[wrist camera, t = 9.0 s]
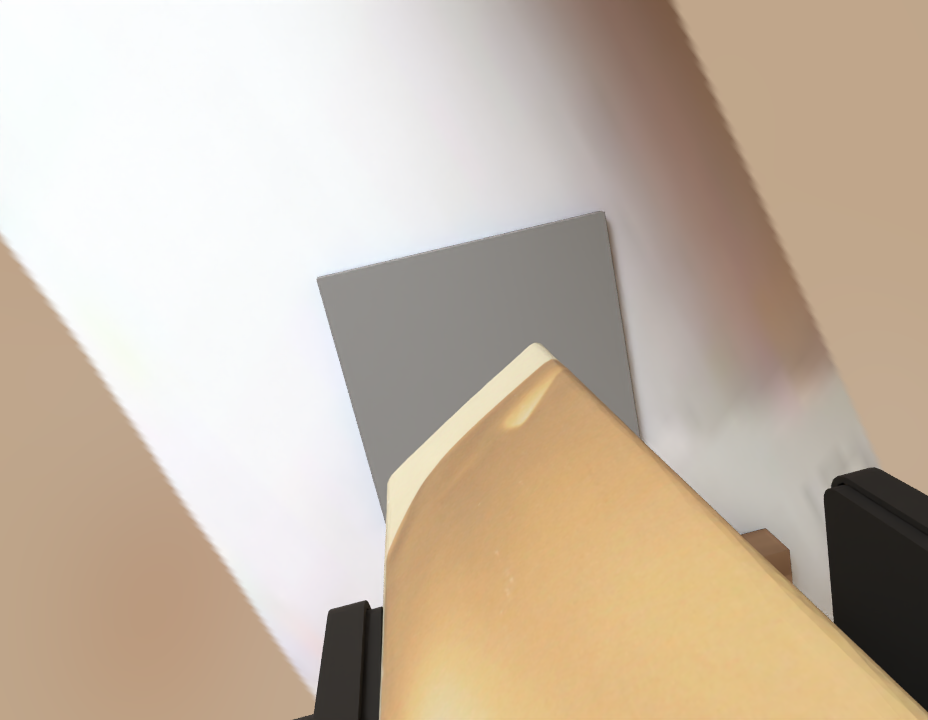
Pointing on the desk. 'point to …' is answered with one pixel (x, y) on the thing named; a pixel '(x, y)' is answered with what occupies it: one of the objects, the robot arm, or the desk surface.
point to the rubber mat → (473, 329)
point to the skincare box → (590, 581)
